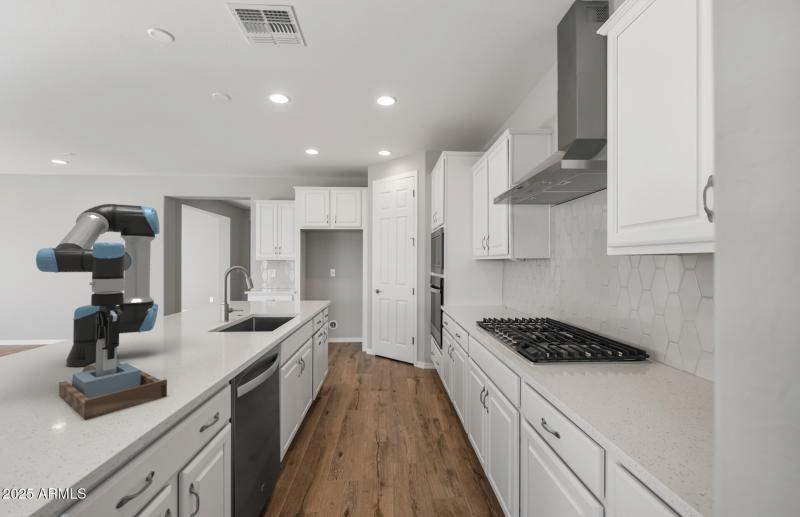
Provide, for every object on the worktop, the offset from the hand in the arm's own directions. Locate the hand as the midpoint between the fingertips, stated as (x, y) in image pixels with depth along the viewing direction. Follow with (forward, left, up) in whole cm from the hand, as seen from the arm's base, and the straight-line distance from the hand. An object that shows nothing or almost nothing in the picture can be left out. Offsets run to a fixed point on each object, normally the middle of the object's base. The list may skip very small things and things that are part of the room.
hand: (106, 367), depth 101 cm
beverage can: (0, 0, -3) cm, 3 cm away
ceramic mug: (-12, +3, -9) cm, 15 cm away
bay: (+7, 0, -8) cm, 11 cm away
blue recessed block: (+1, 0, -7) cm, 7 cm away
